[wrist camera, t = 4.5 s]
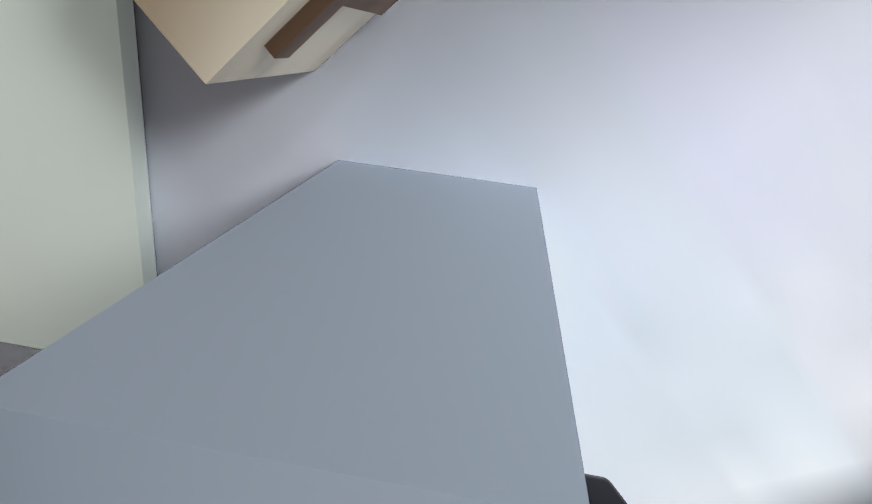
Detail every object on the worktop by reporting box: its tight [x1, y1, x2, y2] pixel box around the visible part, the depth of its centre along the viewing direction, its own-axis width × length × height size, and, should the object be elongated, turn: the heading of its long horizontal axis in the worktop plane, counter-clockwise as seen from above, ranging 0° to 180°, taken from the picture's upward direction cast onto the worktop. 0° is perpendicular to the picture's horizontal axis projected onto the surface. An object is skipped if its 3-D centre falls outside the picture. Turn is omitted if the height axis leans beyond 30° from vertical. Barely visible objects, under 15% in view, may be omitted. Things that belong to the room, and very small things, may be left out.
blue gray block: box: [0, 160, 589, 504], centre depth 10 cm, size 5×5×10 cm
